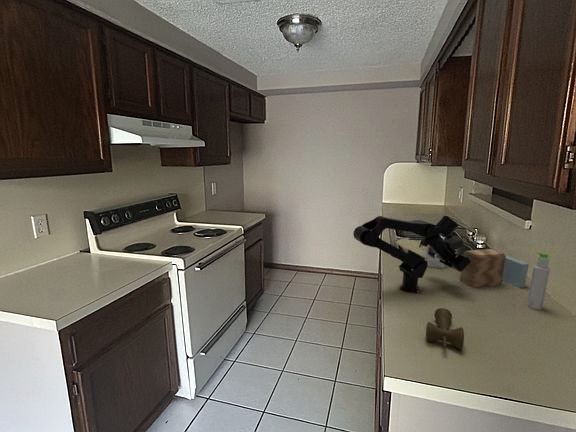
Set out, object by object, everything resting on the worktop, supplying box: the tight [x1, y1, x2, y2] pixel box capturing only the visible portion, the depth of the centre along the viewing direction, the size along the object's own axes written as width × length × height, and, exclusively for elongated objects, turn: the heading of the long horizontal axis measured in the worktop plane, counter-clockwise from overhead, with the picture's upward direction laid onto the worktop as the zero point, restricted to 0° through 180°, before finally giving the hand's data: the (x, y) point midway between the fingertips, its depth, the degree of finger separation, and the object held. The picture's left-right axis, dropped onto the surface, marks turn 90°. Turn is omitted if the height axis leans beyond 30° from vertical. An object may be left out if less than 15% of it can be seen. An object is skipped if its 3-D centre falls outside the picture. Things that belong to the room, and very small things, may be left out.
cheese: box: [396, 237, 424, 256], centre depth 167 cm, size 15×7×15 cm
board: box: [502, 255, 529, 289], centre depth 136 cm, size 3×14×10 cm, turn 12°
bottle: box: [526, 252, 550, 311], centre depth 112 cm, size 4×4×20 cm
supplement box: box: [423, 236, 446, 269], centre depth 154 cm, size 9×9×15 cm
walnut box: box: [459, 248, 507, 289], centre depth 133 cm, size 14×7×14 cm, turn 102°
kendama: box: [425, 307, 465, 351], centre depth 94 cm, size 6×10×20 cm
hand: (458, 269), depth 130 cm, fingers closed
